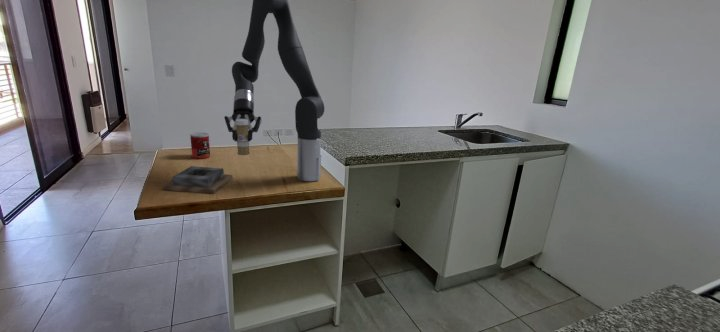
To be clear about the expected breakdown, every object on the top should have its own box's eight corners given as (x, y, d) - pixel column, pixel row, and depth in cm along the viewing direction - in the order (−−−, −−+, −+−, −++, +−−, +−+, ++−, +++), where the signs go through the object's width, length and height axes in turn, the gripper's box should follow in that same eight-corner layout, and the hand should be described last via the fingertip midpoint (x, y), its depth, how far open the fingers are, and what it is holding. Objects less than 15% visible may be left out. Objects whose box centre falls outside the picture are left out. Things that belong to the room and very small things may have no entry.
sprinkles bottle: (236, 155, 126) (234, 120, 122) (238, 152, 130) (236, 118, 126) (249, 155, 126) (247, 120, 122) (250, 152, 131) (248, 118, 127)
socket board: (232, 178, 132) (232, 167, 131) (214, 193, 117) (213, 181, 116) (187, 175, 132) (186, 164, 131) (163, 189, 117) (162, 177, 116)
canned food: (199, 160, 151) (197, 136, 148) (188, 157, 155) (186, 133, 152) (213, 157, 158) (212, 134, 154) (203, 153, 162) (201, 131, 158)
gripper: (223, 97, 127) (220, 135, 120) (261, 98, 131) (261, 134, 123) (226, 109, 134) (223, 145, 126) (263, 109, 137) (262, 145, 129)
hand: (242, 140), depth 125 cm, fingers closed on sprinkles bottle, 4 cm apart
